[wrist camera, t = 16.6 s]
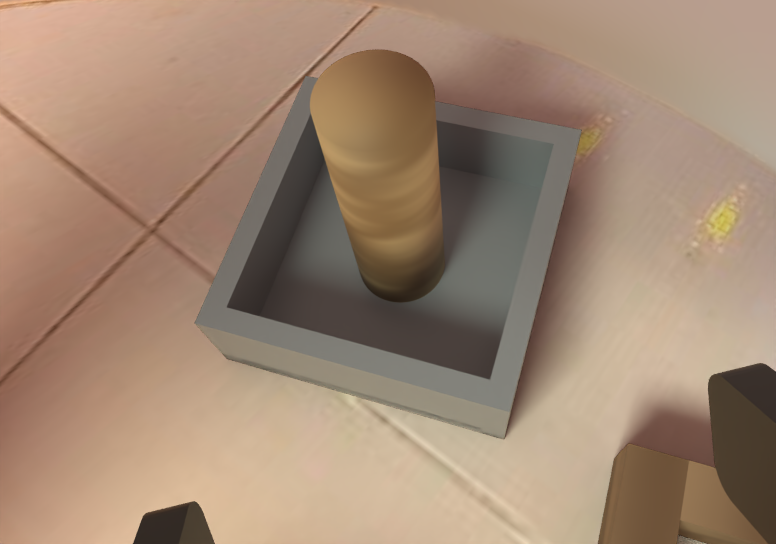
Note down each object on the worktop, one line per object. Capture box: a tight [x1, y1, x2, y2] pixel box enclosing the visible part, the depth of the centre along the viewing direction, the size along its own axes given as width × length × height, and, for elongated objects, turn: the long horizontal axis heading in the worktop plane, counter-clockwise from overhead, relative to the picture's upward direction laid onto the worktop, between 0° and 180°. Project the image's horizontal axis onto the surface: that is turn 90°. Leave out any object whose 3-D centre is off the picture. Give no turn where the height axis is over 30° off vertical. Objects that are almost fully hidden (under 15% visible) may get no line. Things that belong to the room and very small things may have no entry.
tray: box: [195, 76, 582, 439], centre depth 33 cm, size 13×13×4 cm
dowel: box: [310, 50, 445, 303], centre depth 29 cm, size 4×4×12 cm
